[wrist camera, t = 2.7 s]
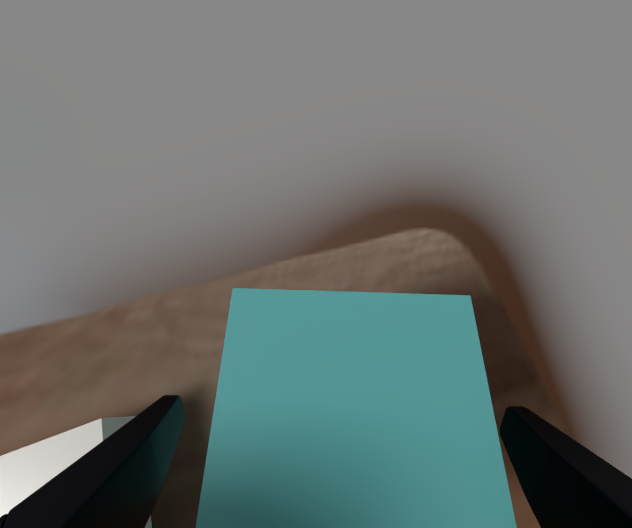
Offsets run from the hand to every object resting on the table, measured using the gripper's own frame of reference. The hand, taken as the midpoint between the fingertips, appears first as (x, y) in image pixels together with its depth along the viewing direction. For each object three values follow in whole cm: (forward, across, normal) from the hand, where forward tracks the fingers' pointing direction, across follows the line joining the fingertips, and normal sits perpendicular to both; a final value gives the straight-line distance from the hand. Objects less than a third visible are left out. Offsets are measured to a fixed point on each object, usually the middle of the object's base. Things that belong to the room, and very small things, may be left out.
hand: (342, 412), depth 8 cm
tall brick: (+5, 0, +6) cm, 8 cm away
